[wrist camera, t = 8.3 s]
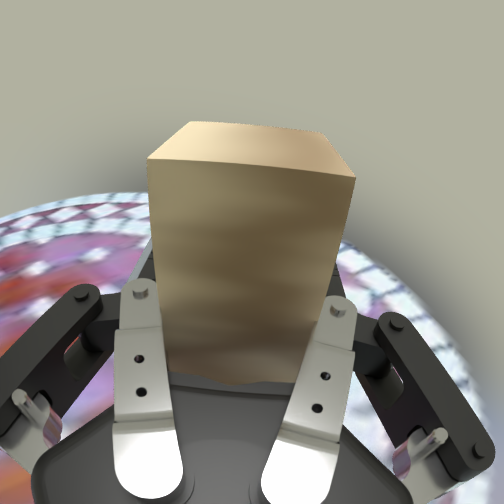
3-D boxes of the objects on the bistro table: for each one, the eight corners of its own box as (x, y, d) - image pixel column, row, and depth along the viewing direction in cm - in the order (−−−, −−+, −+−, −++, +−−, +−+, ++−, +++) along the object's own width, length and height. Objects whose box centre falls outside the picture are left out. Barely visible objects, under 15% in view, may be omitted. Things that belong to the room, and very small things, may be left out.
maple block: (181, 425, 13) (146, 158, 6) (194, 353, 17) (190, 121, 10) (278, 434, 13) (356, 177, 7) (277, 361, 17) (322, 133, 10)
